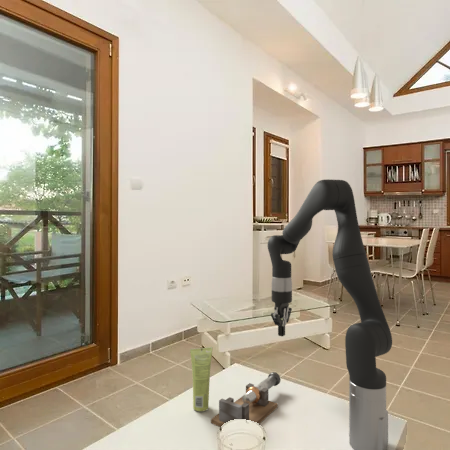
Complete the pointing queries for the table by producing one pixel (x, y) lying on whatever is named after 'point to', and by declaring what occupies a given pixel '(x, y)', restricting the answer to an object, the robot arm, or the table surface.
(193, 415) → the table surface
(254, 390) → the shaft
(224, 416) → the bearing board
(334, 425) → the table surface
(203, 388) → the tube
